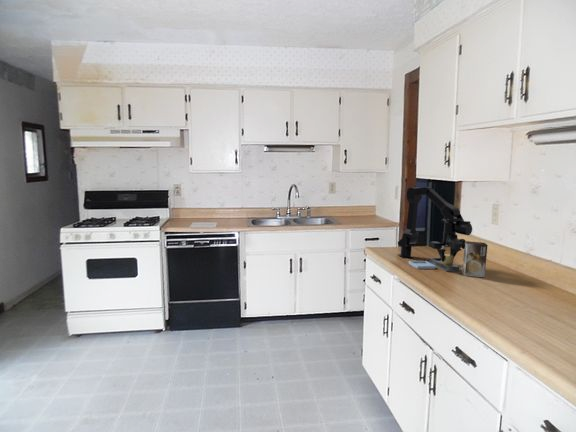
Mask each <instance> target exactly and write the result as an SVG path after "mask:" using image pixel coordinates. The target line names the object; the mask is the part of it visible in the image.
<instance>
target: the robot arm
mask: <svg viewBox="0 0 576 432" xmlns="http://www.w3.org/2000/svg"><path fill="white" fill-rule="evenodd" d="M423 196H426V197H427V198H428V199H429V200H430V201H431V202H432V203H433V204H434V205H436V206H437V207H438V209H440V213H441V214H442V215H443V219H441V220H440V222H441V223H444V226H443V227H444V228H443V232H442V233H441V235H443V236H442V237H443V238H442V239H441V242H439V241H435V240H434V241H433V240H432V241H430V242H429V243H428V247H430V248H432V249H434V250H437V252H438V255H439V258H441V261H442V262H443V261H444V254H445V253H446V251H447V249H445V248H450V250H449V254H450V255H452V256H454V258H453V260H454V259H455V257H456V255H457V253H459V252H460V251H462V250H464V248H465V241H466V240H465V238H460V239H459V238H458V234H459V235H465V236H470V235H472V231H473V226H472V224H471V221H469V220H468V221H467V220H465V219H464V218H463V216H462V214H461V210H460V209H459V207H457V206H455V205H453V204H452V203H449V202H447V201H446V199H444V198H443V197H442V196H441V195H439V193H437V191H435V190H434V188H432V186H424V187H409V188H408V189H407V190H406V199H407V200H406V201H407V202H408V206H407V207H408V208H407V218H406V227H405V230H404V232H403V233H402V236H401V239H399V240H398V241H397V245H398V247H400V253H399V254H397V255H398V256H399V257H401V258H403V259H406V258H408V259H411V258H412V259H413V258H414V256H413V255H412V247H415V245H416V244H417V243H418V240H419V236H420V232H418V231H417V230H416V229H417V227H416V226H417V219H418V208H419V204H420V202H421V200H422V197H423Z"/></svg>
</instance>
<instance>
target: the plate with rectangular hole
mask: <svg viewBox="0 0 576 432" xmlns="http://www.w3.org/2000/svg"><path fill="white" fill-rule="evenodd" d="M427 262H429V263H431V264H433V265H435V266H436V268H439V269H441V270H443V271H444V272H450V273H451V272H460V268H461V267H460V265H458V264H455V263H453V265H444V264H442V263H441V258H440V257H428V260H427Z"/></svg>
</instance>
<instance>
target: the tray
mask: <svg viewBox="0 0 576 432" xmlns="http://www.w3.org/2000/svg"><path fill="white" fill-rule="evenodd" d="M408 265H410V266H412V267H413V268H415V269H417V270H436V269H437V266H435V265H433V264H431V263H429V262H428V260H408Z"/></svg>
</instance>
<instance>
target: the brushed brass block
mask: <svg viewBox="0 0 576 432" xmlns="http://www.w3.org/2000/svg"><path fill="white" fill-rule="evenodd" d="M453 258H454V259H455V257H454V256H452V255H450V253H444V261H443V262H442V261H441V263H442V264H444V265H453V264H454V259H453Z"/></svg>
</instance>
